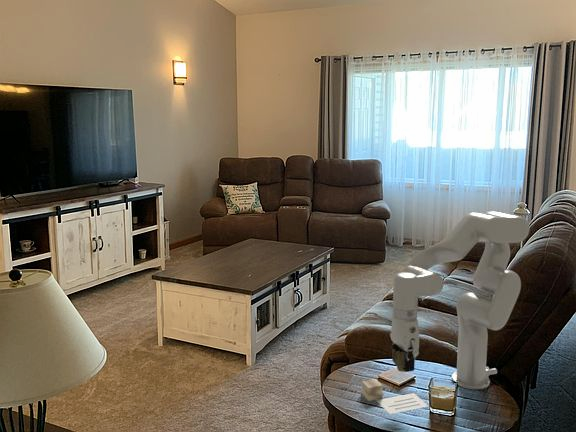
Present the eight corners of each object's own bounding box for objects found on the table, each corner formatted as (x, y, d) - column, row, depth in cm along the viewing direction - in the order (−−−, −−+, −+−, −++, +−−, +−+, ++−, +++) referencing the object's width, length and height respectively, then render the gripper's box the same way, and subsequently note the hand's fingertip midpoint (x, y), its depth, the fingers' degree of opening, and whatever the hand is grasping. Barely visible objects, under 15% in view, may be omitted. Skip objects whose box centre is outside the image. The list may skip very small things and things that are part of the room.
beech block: (375, 392, 193) (375, 378, 192) (382, 399, 188) (382, 385, 188) (361, 395, 192) (361, 381, 191) (368, 402, 187) (368, 387, 186)
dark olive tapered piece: (414, 376, 179) (415, 352, 177) (390, 374, 180) (391, 350, 179) (414, 366, 186) (415, 342, 184) (391, 364, 187) (392, 340, 186)
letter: (413, 393, 192) (413, 393, 192) (428, 407, 183) (428, 406, 183) (376, 401, 187) (376, 400, 187) (389, 414, 179) (389, 414, 179)
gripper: (430, 320, 173) (428, 376, 176) (401, 302, 189) (399, 353, 192) (408, 323, 170) (406, 379, 173) (380, 304, 186) (379, 356, 190)
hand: (403, 365), depth 183 cm, fingers closed on dark olive tapered piece, 6 cm apart
